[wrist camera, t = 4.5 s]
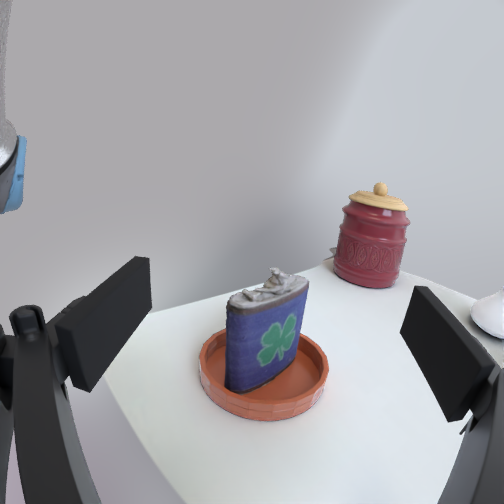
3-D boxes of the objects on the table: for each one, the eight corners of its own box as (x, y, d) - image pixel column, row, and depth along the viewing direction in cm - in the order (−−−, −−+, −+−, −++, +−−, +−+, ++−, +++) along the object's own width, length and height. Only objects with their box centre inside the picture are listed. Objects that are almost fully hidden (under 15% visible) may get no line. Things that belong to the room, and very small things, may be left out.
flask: (282, 346, 31) (297, 253, 28) (303, 359, 30) (323, 263, 26) (216, 384, 25) (220, 277, 21) (239, 402, 23) (249, 292, 20)
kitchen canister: (362, 259, 63) (375, 179, 57) (408, 282, 52) (428, 192, 47) (318, 266, 57) (331, 174, 51) (367, 295, 46) (389, 186, 40)
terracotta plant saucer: (186, 409, 22) (185, 392, 21) (212, 333, 33) (213, 317, 33) (329, 424, 21) (336, 408, 21) (317, 344, 33) (321, 328, 32)
